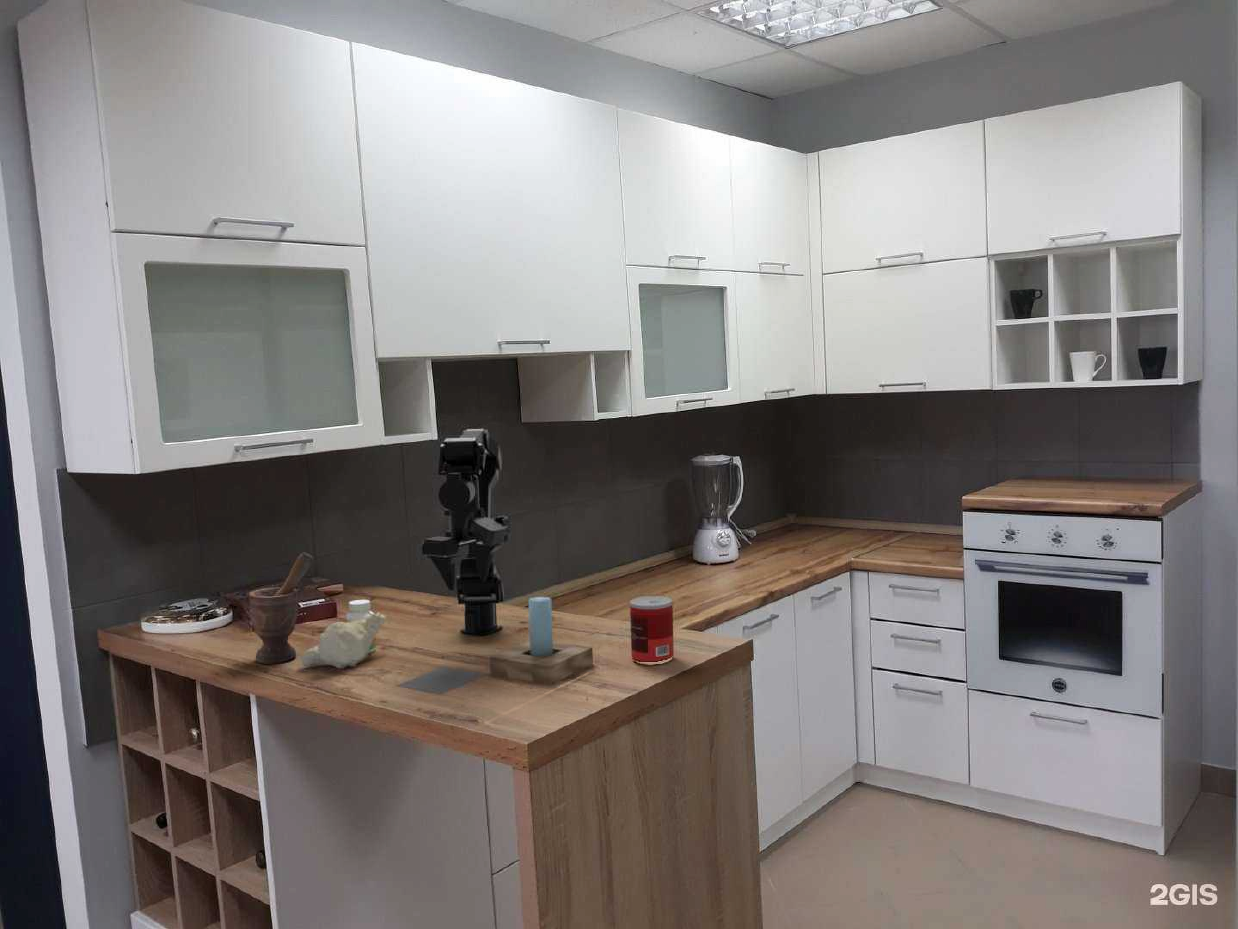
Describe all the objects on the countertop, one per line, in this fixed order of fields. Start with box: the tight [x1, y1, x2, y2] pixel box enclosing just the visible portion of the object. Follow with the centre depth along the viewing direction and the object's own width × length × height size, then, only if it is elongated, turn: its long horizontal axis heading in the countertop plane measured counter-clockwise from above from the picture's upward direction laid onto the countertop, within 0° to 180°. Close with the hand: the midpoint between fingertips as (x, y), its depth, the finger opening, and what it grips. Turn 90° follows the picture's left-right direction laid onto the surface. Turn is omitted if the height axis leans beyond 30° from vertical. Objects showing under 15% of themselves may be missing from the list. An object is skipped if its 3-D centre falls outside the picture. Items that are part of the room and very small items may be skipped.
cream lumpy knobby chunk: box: [299, 611, 388, 669], centre depth 185 cm, size 15×7×15 cm
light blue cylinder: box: [528, 596, 554, 658], centre depth 177 cm, size 4×4×13 cm
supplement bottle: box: [345, 599, 377, 654], centre depth 194 cm, size 5×5×10 cm
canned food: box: [629, 595, 675, 662], centre depth 182 cm, size 8×8×11 cm
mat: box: [395, 666, 487, 695], centre depth 173 cm, size 12×10×1 cm
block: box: [489, 640, 594, 686], centre depth 177 cm, size 13×13×4 cm
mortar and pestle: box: [248, 552, 314, 665], centre depth 190 cm, size 12×9×20 cm
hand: (467, 585), depth 190 cm, fingers open, 9 cm apart
